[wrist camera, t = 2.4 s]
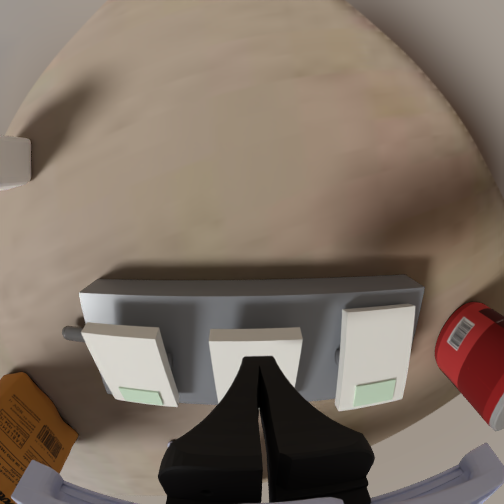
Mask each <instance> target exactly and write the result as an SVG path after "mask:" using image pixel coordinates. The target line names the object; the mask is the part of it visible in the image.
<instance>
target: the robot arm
mask: <svg viewBox="0 0 504 504" xmlns="http://www.w3.org/2000/svg"><path fill="white" fill-rule="evenodd" d="M259 410H260V416H261V422H262V427H263V433H264V439H265V444H266V452H267V468H268V486H269V503H261V496H262V472H263V467H262V453H261V444H260V435H259V424H258V416H259ZM374 459H375V457H374V453H373V451H372V449H371V446H370V445H369V443H368V441H367V440H366V438H365V437H364V435H363V434H362V433H359V432H357V431H354V430H352V429H349V428H347V427H345V426H343V425H341V424H339V423H337V422H335V421H333V420H332V419H330V418H329V417H327V416H326V415H324V414H323V413H321V412H320V411H318V410H317V409H316V408H315V407H313V406H312V405H311V404H310V403H309V402H308V401H307V400H306V399H305V398H303V397H302V395H301V394H300V393H299V392H298V391H297V390H296V389H295V388H294V387H293V385H292V384H291V383H290V382H289V380H288V379H287V378H286V376H285V375H284V374H283V372H282V371H281V369H280V367H279V366H278V364H277V362H276V360H275V358H274V357H273V356H245V357H243V358H242V363H241V366H240V368H239V371H238V373H237V375H236V377H235V379H234V381H233V383H232V385H231V386H230V388H229V389H228V391H227V393H226V394H225V396H224V397H223V398H222V400H221V401H220V402H219V404H218V405H217V406H216V407H215V408H214V409H213V411H212V412H211V413H210V414H209V415H208V416H207V417H206V418H205V419H204V420H203V421H201V422H200V423H199V424H198V425H197V426H195V427H194V428H193V429H192V430H190V431H189V432H188V433H186V434H185V435H183V436H182V437H180V438H178V439H177V440H175V441H173V442H168V449H167V450H166V452H165V455H164V457H163V459H162V462H161V465H160V469H159V474H158V479H159V482H160V483H161V485H162V487H163V489H164V491H165V493H166V494H167V501H166V504H483V502H485V501H486V500H487V499H488V498H489V497H490V496H491V495H492V494H493V493H494V492H495V491H496V490H497V489H498V488H499V487H500V486H501V485H502V484H503V483H504V465H503V464H502V463H501V461H500V460H499V459H498V457H497V456H496V454H495V453H494V452H493V450H492V449H491V447H490V446H489V445H488V443H484V444H482V445H481V446H479V447H477V448H475V449H473V450H472V451H470V452H469V453H468V454H466V455H465V456H464V457H463V458H462V460H461V461H460V463H459V464H458V465H456V466H454V467H452V468H450V469H448V470H446V471H444V472H442V473H439V474H437V475H435V476H433V477H430V478H428V479H425V480H423V481H421V482H418V483H415V484H413V485H410V486H407V487H404V488H402V489H399V490H396V491H393V492H390V493H386V494H383V495H380V496H377V497H373V498H370V496H369V493H368V490H367V486H368V481H367V478H366V475H367V474H368V472H369V470H370V468H371V466H372V465H373V462H374ZM11 498H12V499H13V500H14V501H15V502H16V503H17V504H138V503H133V502H129V501H125V500H121V499H117V498H114V497H110V496H107V495H103V494H100V493H97V492H94V491H91V490H88V489H85V488H82V487H79V486H77V485H74V484H71V483H69V482H66V481H64V480H63V478H62V477H61V476H60V474H59V473H57V472H56V471H55V470H54V469H52V468H50V467H48V466H46V465H43V464H41V463H39V462H37V461H35V460H31V462H30V464H29V465H28V467H27V469H26V471H25V472H24V474H23V476H22V477H21V479H20V481H19V483H18V485H17V486H16V488H15V490H14V492H13V494H12V495H11Z"/></svg>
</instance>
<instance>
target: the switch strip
mask: <svg viewBox="0 0 504 504" xmlns="http://www.w3.org/2000/svg"><path fill="white" fill-rule="evenodd" d="M424 288H425V287H424V286H422V285H421V284H419V283H417V282H416V281H414V280H413V279H411V278H410V277H408V276H407V275H405V274H404V275H385V276H364V277H339V278H309V279H268V280H118V279H97V280H95V281H94V282H93V283H91V284H90V285H89V286H87V287H86V288H84V289H83V290H82V291H80V292H79V296H80V301H81V306H82V310H83V315H84V319H85V323H87V322H91V323H102V324H113V325H126V326H141V327H159V329H160V333H161V337H162V340H163V344H164V348H165V351H166V353H172V354H173V360H174V362H173V368H172V369H171V371H172V375H173V378H174V381H175V384H176V387H177V390H178V393H179V396H180V397H179V403H191V404H212V405H218V398H217V392H216V386H215V380H214V374H213V367H212V361H211V354H210V347H209V335H210V329H265V328H292V327H300V330H301V334H302V338H303V341H302V347H301V354H300V360H299V366H298V372H297V377H296V383H295V389H296V390H297V391H298V392H299V393H300V394H301V395H302V397H303V398H305V399H306V400H307V401H318V400H327V399H335V398H336V389H337V379H338V368H339V366H337V365H336V363H335V351H336V350H340V342H341V325H342V309H352V308H365V307H377V306H388V305H398V304H411V305H414V306H415V317H414V328H413V337H412V343H413V339H414V335H415V331H416V327H417V322H418V318H419V314H420V309H421V304H422V299H423V294H424ZM82 330H83V328H80V327H72V326H66V327H64V328H63V330H62V335H63V337H64V338H65V339H67V340H72V341H78V342H85V340H84V338H83V336H82V334H81V331H82ZM411 346H412V345H411ZM100 374H101V373H100ZM101 377H102V380H103V383H104V386H105V389H106V391H107V394H112V392H111V391H110V389H109V387H108V385H107V384H106V382H105V380H104V378H103V376H102V375H101Z"/></svg>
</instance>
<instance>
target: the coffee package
mask: <svg viewBox="0 0 504 504" xmlns="http://www.w3.org/2000/svg"><path fill="white" fill-rule="evenodd" d="M78 436H79V435H78V434H77V432H76V431H74V430H73V429H72V428H71V427H70V426H69V425H68V424H66V423H65V422H64V421H63V420H62V418H61V417H60V415H59V413H58V411H57V409H56V407H55V405H54V404H53V402H52V401H51V400H50V399H49V397H48V396H47V395H46V394H45V393H43V392H42V391H41V390H40V389H39V388H38V387H37V386H36V385H35V383H34V382H33V381H32V380H31V379H30V377H29V376H28V375H27V374H26V373H23V372H19V373H15V374H7V375H4V376H3V377H2V378H1V380H0V504H17V503H16V502H15V501H14V500H13V499H12V498H11V495H12V494H13V492H14V490H15V488H16V486H17V485H18V483H19V481H20V479H21V477H22V476H23V474H24V472H25V471H26V469H27V467H28V465H29V464H30V462H31V460H35V461H37V462H39V463H41V464H43V465H46V466H48V467H50V468H52V469H54V470H55V471H56V472H57V473H60V471H61V470H62V467H63V465H64V463H65V461H66V459H67V457H68V455H69V453H70V450H71V448H72V446H73V444H74V443H75V441H76V440H77V438H78Z"/></svg>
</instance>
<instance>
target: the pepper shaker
mask: <svg viewBox="0 0 504 504" xmlns="http://www.w3.org/2000/svg"><path fill="white" fill-rule="evenodd" d="M30 180H31V142H30V140H29V139H28V138H22V137H13V136H4V135H0V191H2V190H8V189H11V188H15V187H18V186H22V185H25V184H27V183H28V182H29V181H30Z"/></svg>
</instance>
